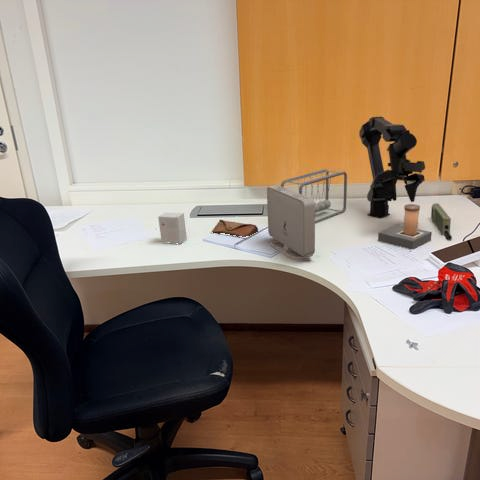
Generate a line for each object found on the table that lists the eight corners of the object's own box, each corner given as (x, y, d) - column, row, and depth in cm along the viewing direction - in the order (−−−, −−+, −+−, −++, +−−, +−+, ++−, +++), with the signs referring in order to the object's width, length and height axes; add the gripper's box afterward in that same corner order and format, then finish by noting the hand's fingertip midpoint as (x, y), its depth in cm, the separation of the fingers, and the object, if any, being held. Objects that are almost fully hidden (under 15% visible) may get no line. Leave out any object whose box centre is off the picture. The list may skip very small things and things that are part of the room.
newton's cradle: (301, 229, 172) (300, 184, 166) (281, 224, 179) (280, 180, 173) (346, 211, 191) (347, 170, 185) (326, 207, 198) (327, 168, 192)
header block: (377, 240, 155) (378, 231, 154) (396, 232, 162) (397, 223, 161) (412, 249, 146) (413, 239, 145) (430, 240, 153) (431, 230, 152)
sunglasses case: (207, 232, 173) (211, 216, 174) (217, 236, 179) (221, 220, 180) (247, 239, 164) (251, 221, 165) (255, 243, 170) (259, 226, 171)
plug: (399, 243, 152) (401, 206, 148) (406, 239, 155) (409, 203, 150) (412, 246, 148) (415, 209, 144) (419, 242, 151) (422, 205, 147)
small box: (187, 239, 168) (184, 212, 164) (180, 244, 163) (177, 217, 159) (168, 238, 170) (165, 211, 167) (161, 243, 165) (157, 216, 162)
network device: (263, 240, 162) (260, 186, 155) (284, 236, 165) (283, 183, 158) (298, 264, 140) (297, 202, 133) (322, 258, 143) (322, 198, 136)
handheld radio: (439, 219, 174) (455, 241, 151) (430, 219, 175) (444, 241, 152) (440, 203, 172) (456, 222, 149) (431, 203, 173) (445, 222, 150)
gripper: (398, 148, 148) (404, 193, 146) (434, 154, 157) (440, 196, 155) (373, 159, 157) (378, 202, 155) (408, 164, 167) (414, 204, 164)
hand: (403, 201), depth 157 cm, fingers open, 9 cm apart
